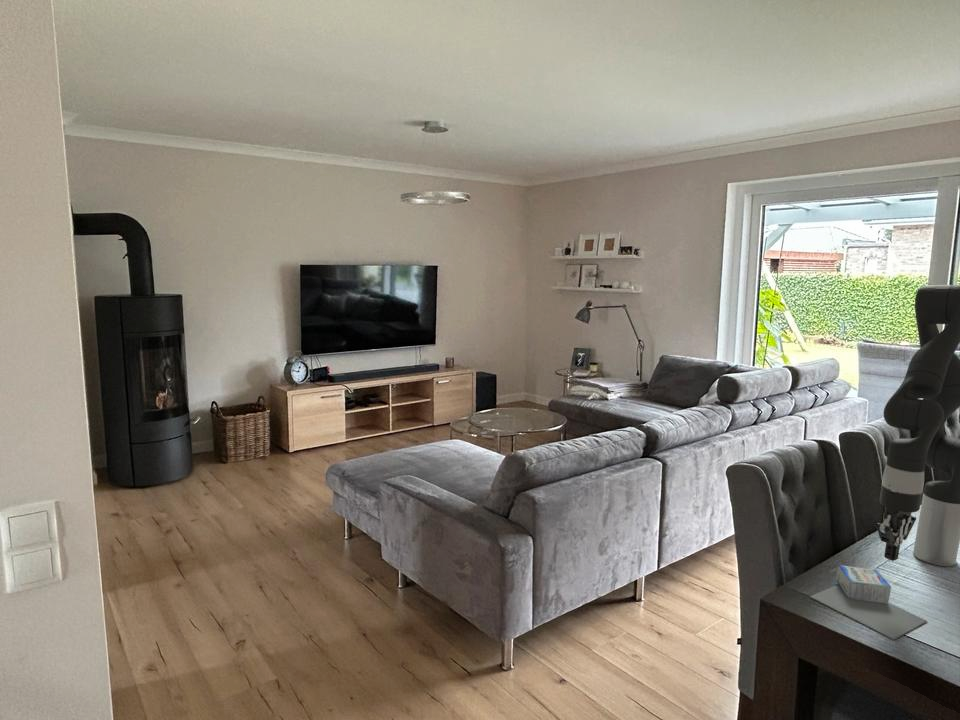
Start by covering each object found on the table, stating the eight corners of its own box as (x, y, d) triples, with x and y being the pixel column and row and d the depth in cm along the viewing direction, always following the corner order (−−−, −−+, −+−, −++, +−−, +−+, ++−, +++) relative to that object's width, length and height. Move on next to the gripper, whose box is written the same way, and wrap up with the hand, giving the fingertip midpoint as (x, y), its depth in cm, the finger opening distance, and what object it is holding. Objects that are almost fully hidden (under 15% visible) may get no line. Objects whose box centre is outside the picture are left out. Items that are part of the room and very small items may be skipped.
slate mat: (843, 583, 150) (844, 581, 150) (927, 621, 135) (927, 620, 135) (810, 597, 143) (810, 596, 143) (893, 640, 128) (893, 638, 128)
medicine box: (892, 586, 140) (850, 580, 142) (888, 604, 141) (847, 598, 143) (877, 569, 148) (838, 564, 150) (874, 586, 149) (835, 581, 150)
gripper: (899, 475, 144) (888, 545, 147) (868, 485, 137) (857, 558, 140) (935, 486, 138) (923, 559, 141) (905, 497, 131) (893, 573, 134)
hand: (890, 558), depth 141 cm, fingers closed
